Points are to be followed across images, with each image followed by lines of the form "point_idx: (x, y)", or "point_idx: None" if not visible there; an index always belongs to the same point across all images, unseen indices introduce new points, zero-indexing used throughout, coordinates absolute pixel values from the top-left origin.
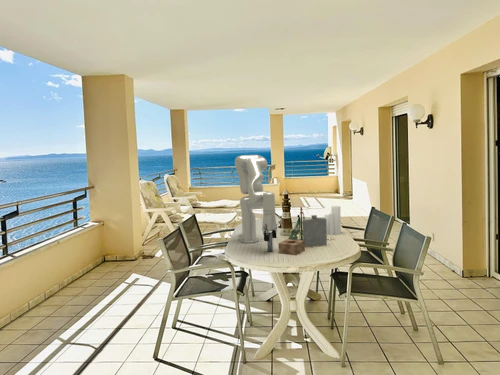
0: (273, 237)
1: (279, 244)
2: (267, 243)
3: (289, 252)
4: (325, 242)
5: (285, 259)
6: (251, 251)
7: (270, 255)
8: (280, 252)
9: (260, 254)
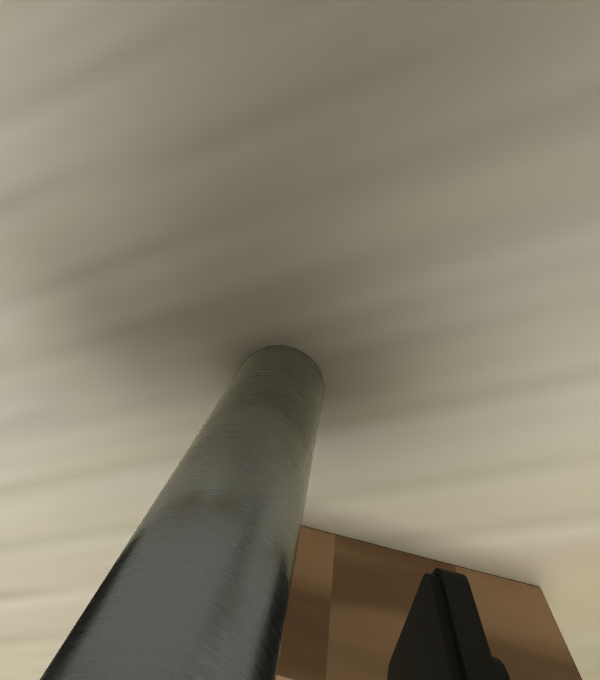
0: (409, 630)
1: None
2: (214, 424)
3: None
4: None
5: (7, 614)
6: (212, 12)
7: (88, 433)
8: None
9: (80, 274)
